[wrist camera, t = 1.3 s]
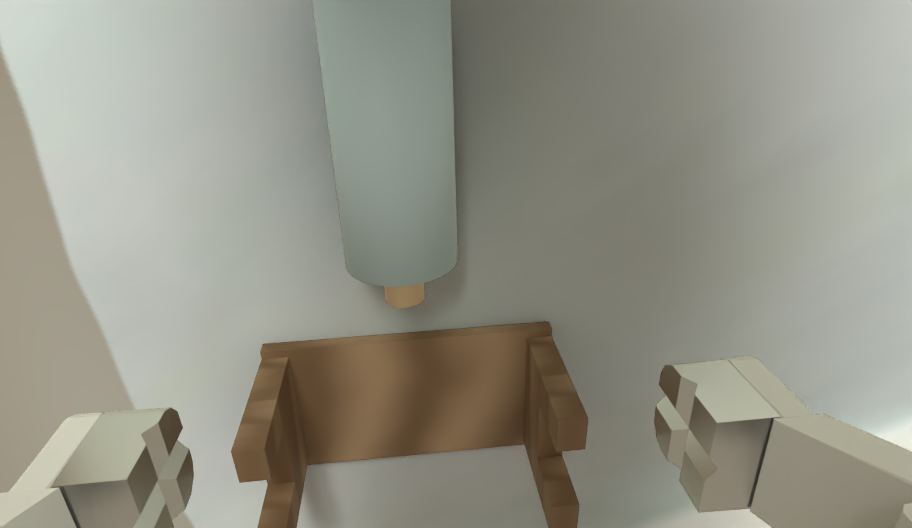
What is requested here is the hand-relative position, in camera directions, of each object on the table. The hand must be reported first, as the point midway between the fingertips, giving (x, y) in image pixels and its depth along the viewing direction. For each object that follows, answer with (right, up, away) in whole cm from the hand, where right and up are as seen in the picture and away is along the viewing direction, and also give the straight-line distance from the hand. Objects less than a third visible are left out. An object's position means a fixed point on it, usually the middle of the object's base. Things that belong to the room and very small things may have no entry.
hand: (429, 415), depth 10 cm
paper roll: (-2, +8, +16) cm, 18 cm away
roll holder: (-2, -6, +26) cm, 27 cm away
